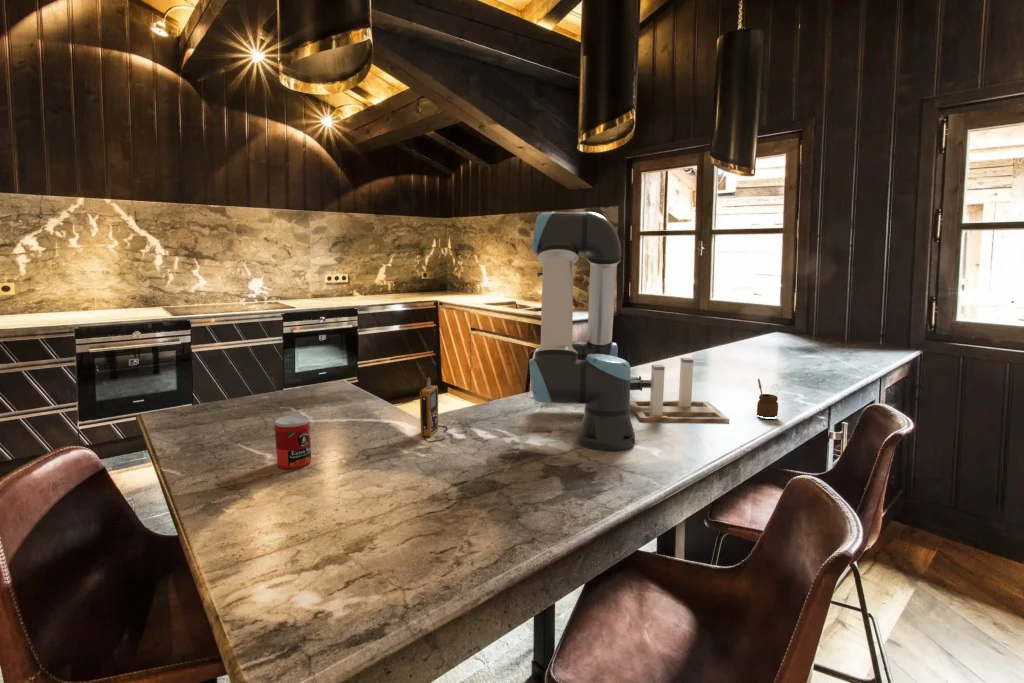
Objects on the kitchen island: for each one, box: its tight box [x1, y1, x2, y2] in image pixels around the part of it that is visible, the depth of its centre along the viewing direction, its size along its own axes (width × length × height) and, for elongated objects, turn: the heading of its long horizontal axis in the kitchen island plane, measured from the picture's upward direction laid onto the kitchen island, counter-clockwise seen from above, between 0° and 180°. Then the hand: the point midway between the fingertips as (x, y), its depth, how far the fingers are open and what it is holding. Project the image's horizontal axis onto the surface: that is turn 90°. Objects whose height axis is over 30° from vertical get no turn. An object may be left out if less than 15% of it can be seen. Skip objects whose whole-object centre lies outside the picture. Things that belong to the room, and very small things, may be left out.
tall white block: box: [677, 357, 694, 407], centre depth 183 cm, size 3×4×16 cm
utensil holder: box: [756, 378, 780, 417], centre depth 177 cm, size 6×6×12 cm
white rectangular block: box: [649, 364, 666, 417], centre depth 171 cm, size 3×4×16 cm
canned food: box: [274, 414, 312, 471], centre depth 136 cm, size 8×8×11 cm
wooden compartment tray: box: [629, 399, 730, 425], centre depth 178 cm, size 26×20×3 cm
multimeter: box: [419, 361, 457, 443], centre depth 159 cm, size 15×10×20 cm
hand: (662, 383), depth 183 cm, fingers closed
